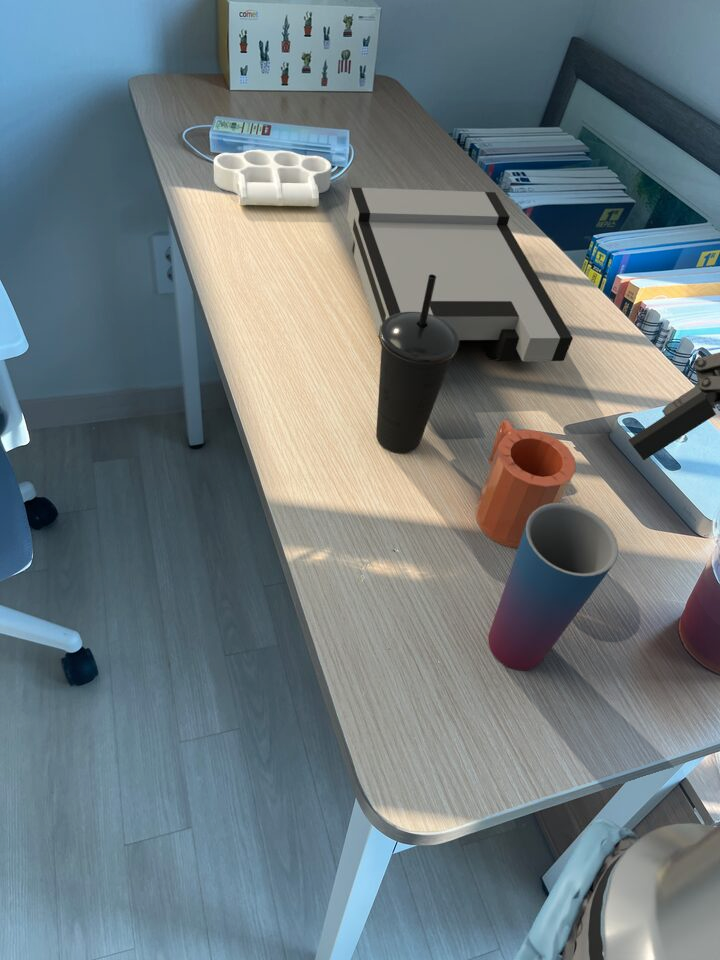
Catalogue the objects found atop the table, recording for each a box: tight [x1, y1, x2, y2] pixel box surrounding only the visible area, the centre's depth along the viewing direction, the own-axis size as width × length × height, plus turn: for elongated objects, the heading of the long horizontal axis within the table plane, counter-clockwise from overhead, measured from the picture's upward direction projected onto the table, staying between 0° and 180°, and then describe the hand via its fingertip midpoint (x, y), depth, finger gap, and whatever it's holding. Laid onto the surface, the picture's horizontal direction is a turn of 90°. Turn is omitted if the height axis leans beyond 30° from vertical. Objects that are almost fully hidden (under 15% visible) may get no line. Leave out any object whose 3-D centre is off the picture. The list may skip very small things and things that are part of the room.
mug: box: [475, 419, 577, 549], centre depth 73 cm, size 10×7×9 cm
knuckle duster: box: [213, 148, 333, 208], centre depth 116 cm, size 3×18×15 cm
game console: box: [346, 186, 574, 362], centre depth 97 cm, size 21×32×8 cm, turn 10°
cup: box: [487, 502, 619, 671], centre depth 60 cm, size 7×7×15 cm
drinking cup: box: [375, 274, 460, 454], centre depth 75 cm, size 8×8×20 cm
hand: (679, 513), depth 57 cm, fingers open, 13 cm apart
